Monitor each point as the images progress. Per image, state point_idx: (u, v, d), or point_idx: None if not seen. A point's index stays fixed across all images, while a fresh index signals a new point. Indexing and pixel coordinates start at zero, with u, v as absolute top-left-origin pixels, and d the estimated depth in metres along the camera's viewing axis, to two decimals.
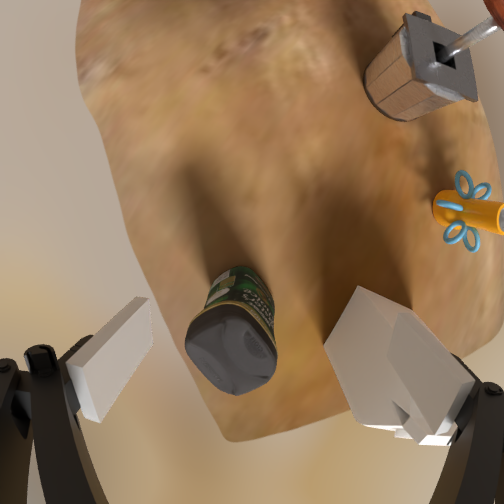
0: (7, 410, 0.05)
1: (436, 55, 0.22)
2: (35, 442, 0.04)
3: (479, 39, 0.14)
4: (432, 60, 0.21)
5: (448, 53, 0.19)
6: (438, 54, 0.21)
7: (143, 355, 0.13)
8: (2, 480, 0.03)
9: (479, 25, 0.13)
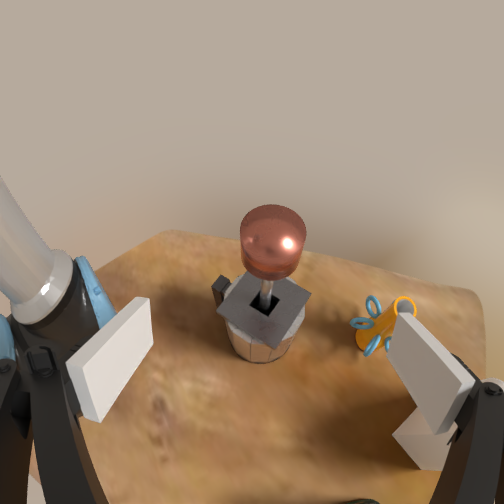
0: (7, 410, 0.05)
1: (261, 308, 0.38)
2: (35, 442, 0.04)
3: (273, 281, 0.32)
4: (265, 320, 0.37)
5: (267, 302, 0.36)
6: (262, 307, 0.38)
7: (143, 355, 0.13)
8: (2, 480, 0.03)
9: None
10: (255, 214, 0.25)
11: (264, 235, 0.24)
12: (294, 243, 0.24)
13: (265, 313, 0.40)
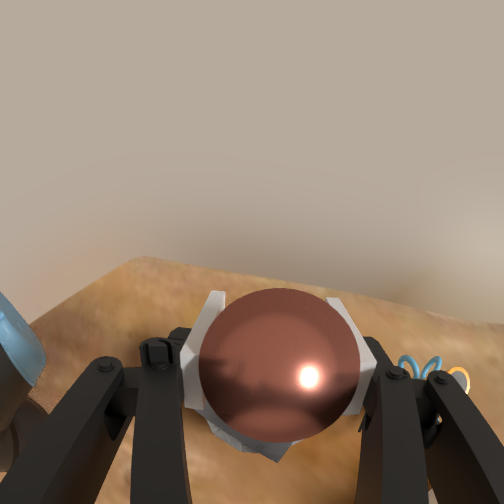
0: (101, 412, 0.07)
1: None
2: (135, 433, 0.06)
3: None
4: None
5: None
6: None
7: None
8: (74, 482, 0.04)
9: None
10: (237, 317, 0.10)
11: (258, 381, 0.09)
12: (331, 399, 0.08)
13: None
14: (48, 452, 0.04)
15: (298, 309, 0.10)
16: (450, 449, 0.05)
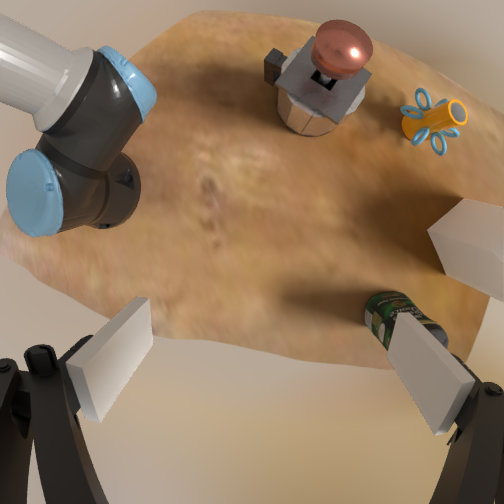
0: (7, 410, 0.05)
1: None
2: (35, 442, 0.04)
3: None
4: (328, 94, 0.31)
5: None
6: None
7: (143, 355, 0.13)
8: (2, 480, 0.03)
9: None
10: (327, 26, 0.20)
11: (337, 45, 0.21)
12: (363, 56, 0.21)
13: None
14: None
15: (349, 27, 0.20)
16: None
